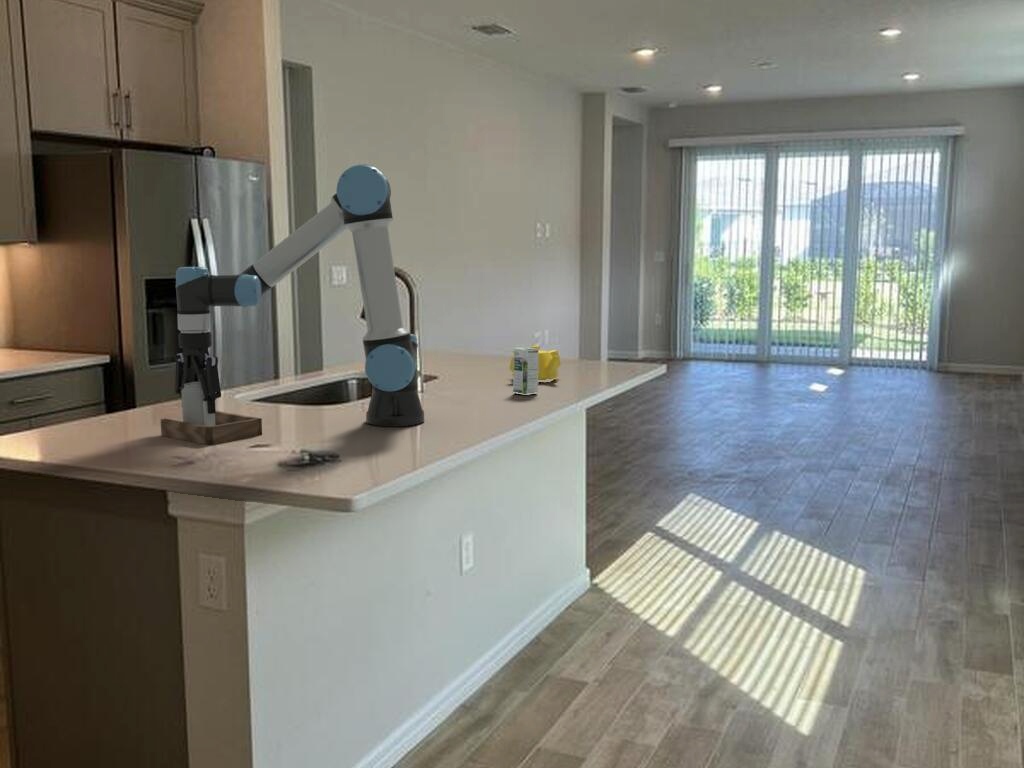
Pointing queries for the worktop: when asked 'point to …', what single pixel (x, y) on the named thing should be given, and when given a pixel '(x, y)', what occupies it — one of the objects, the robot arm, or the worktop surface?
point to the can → (193, 403)
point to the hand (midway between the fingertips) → (199, 424)
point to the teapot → (544, 364)
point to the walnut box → (214, 429)
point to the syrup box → (525, 370)
